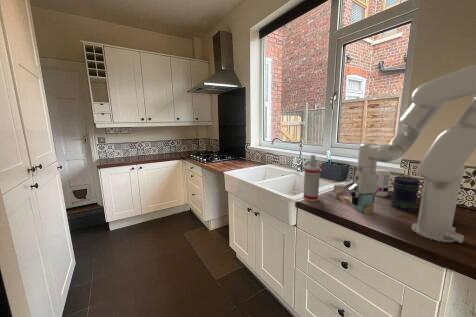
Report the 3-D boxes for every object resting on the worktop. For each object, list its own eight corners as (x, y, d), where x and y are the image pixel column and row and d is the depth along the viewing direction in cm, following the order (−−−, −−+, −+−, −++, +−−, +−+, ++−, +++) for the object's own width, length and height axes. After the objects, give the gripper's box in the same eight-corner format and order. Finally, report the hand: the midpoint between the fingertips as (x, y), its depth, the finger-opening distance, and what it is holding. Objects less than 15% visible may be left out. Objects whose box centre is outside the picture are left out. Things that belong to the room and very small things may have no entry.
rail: (373, 213, 98) (375, 198, 96) (366, 214, 97) (367, 199, 95) (339, 196, 120) (340, 184, 118) (333, 197, 119) (334, 184, 117)
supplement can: (373, 196, 120) (376, 171, 117) (369, 191, 127) (371, 168, 125) (389, 197, 117) (393, 172, 115) (384, 192, 125) (387, 168, 122)
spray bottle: (300, 198, 117) (302, 154, 113) (308, 195, 122) (310, 153, 117) (312, 202, 111) (315, 156, 107) (320, 199, 116) (323, 155, 111)
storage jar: (420, 212, 98) (425, 182, 95) (396, 210, 100) (401, 181, 97) (407, 204, 108) (411, 176, 105) (386, 203, 110) (390, 175, 107)
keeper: (371, 210, 100) (373, 194, 98) (361, 212, 98) (362, 195, 97) (363, 206, 104) (364, 191, 103) (353, 207, 103) (354, 192, 102)
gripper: (357, 172, 92) (353, 208, 95) (388, 170, 96) (383, 205, 99) (344, 168, 99) (341, 202, 103) (374, 166, 103) (370, 199, 106)
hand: (362, 203), depth 101 cm, fingers open, 8 cm apart
